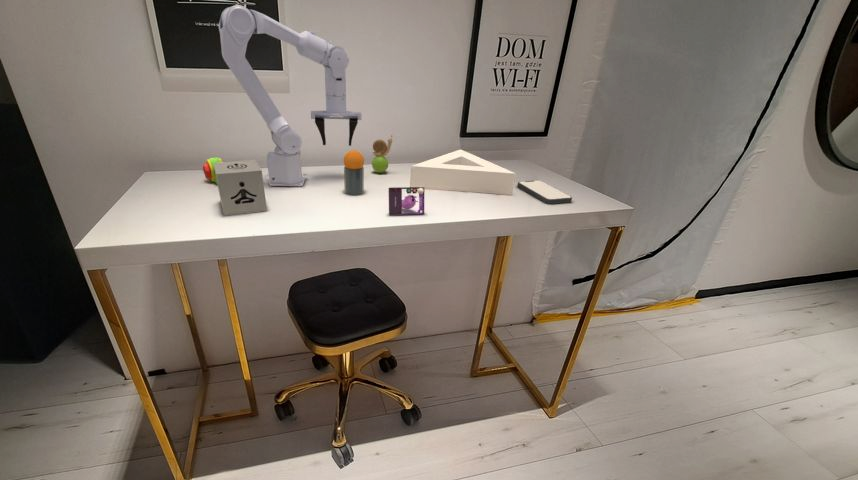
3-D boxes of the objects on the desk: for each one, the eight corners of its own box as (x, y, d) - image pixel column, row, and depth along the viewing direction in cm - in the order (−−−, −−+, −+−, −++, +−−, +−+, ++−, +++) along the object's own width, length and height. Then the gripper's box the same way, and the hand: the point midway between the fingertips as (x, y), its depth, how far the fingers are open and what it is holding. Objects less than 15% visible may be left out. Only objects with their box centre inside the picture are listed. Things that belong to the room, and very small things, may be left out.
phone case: (573, 203, 111) (539, 184, 124) (574, 197, 110) (540, 179, 123) (546, 205, 108) (514, 186, 121) (548, 200, 108) (516, 181, 120)
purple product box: (389, 187, 95) (425, 187, 96) (386, 188, 100) (420, 187, 101) (389, 215, 96) (425, 214, 98) (386, 214, 101) (420, 213, 103)
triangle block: (511, 195, 114) (516, 173, 111) (433, 204, 105) (435, 181, 102) (458, 167, 138) (460, 149, 134) (390, 173, 129) (391, 153, 125)
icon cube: (220, 201, 101) (213, 162, 96) (260, 197, 105) (255, 159, 99) (224, 215, 93) (216, 174, 88) (267, 210, 97) (261, 170, 92)
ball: (343, 174, 106) (343, 152, 103) (344, 168, 110) (343, 148, 108) (364, 174, 106) (364, 153, 103) (363, 168, 111) (363, 148, 108)
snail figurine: (390, 175, 127) (392, 136, 120) (371, 174, 127) (371, 135, 120) (391, 170, 131) (392, 133, 125) (372, 169, 131) (372, 132, 125)
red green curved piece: (211, 188, 110) (206, 164, 106) (197, 170, 123) (192, 149, 120) (234, 184, 113) (230, 161, 109) (218, 168, 126) (214, 147, 123)
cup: (344, 195, 109) (343, 170, 105) (344, 188, 113) (344, 164, 110) (363, 195, 109) (363, 170, 106) (363, 189, 114) (363, 165, 110)
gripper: (308, 96, 107) (311, 147, 114) (361, 97, 108) (361, 148, 115) (310, 93, 113) (313, 141, 120) (361, 94, 114) (361, 143, 121)
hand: (337, 144), depth 118 cm, fingers open, 7 cm apart
